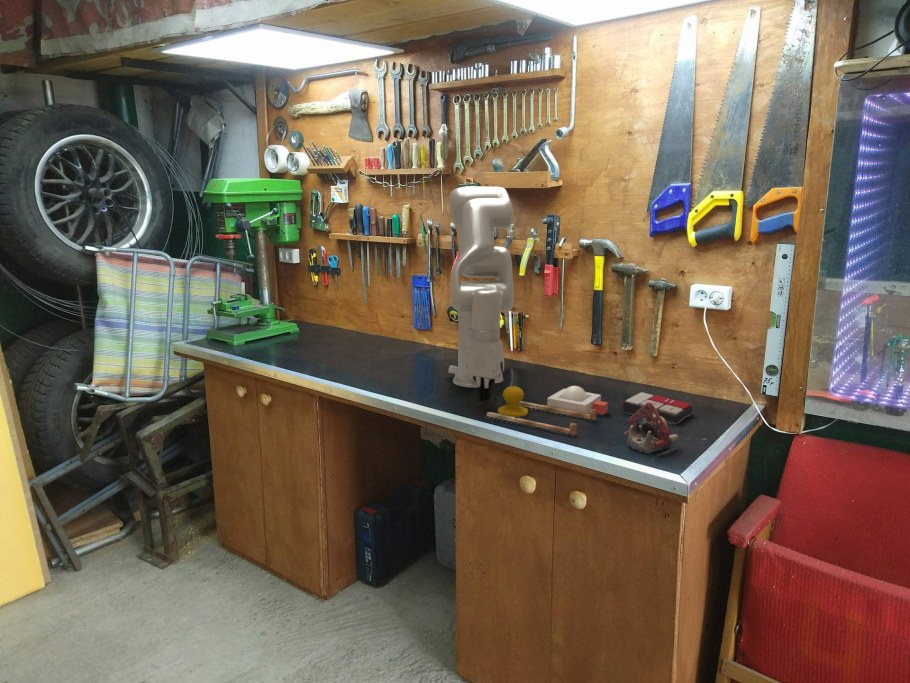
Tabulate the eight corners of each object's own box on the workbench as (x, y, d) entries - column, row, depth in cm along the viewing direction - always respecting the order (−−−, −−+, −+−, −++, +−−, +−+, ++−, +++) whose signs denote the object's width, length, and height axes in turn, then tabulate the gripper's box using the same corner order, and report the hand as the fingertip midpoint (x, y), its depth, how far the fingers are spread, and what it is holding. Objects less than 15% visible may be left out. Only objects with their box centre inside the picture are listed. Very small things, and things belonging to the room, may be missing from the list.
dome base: (547, 410, 182) (547, 398, 181) (563, 400, 191) (564, 388, 190) (597, 420, 174) (598, 407, 174) (612, 409, 183) (613, 397, 183)
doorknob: (534, 415, 179) (511, 420, 174) (514, 407, 185) (491, 412, 180) (534, 388, 177) (511, 393, 172) (515, 381, 183) (492, 385, 179)
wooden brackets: (486, 418, 176) (486, 407, 175) (512, 403, 187) (512, 393, 187) (574, 437, 162) (575, 425, 162) (596, 420, 174) (597, 409, 174)
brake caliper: (609, 437, 156) (631, 392, 159) (631, 455, 163) (652, 412, 165) (650, 452, 148) (673, 404, 150) (671, 470, 154) (693, 424, 157)
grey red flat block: (677, 413, 170) (623, 398, 179) (675, 429, 171) (621, 414, 180) (693, 403, 179) (640, 389, 188) (691, 418, 180) (638, 404, 189)
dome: (558, 409, 183) (559, 387, 181) (567, 403, 188) (568, 381, 187) (580, 414, 179) (581, 391, 178) (589, 407, 185) (590, 385, 183)
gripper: (454, 333, 180) (454, 399, 184) (503, 340, 172) (501, 408, 176) (469, 329, 186) (468, 392, 191) (517, 335, 179) (515, 401, 183)
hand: (484, 400), depth 183 cm, fingers closed
